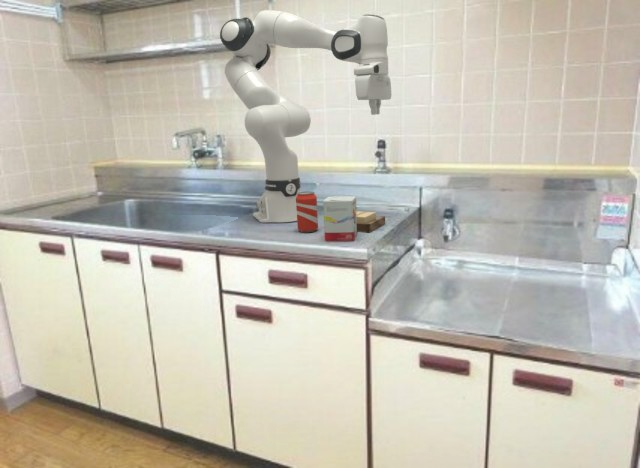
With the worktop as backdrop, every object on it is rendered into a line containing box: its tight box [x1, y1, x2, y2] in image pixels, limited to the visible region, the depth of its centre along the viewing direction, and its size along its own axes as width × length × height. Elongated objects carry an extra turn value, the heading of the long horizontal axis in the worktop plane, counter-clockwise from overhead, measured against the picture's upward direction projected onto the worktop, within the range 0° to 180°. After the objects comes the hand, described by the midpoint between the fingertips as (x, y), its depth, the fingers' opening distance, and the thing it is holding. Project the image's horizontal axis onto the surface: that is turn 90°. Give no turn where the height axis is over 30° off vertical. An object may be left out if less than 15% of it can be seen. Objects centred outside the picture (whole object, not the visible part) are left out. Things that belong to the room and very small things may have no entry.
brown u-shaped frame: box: [357, 215, 386, 234], centre depth 156 cm, size 12×12×2 cm
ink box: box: [322, 195, 358, 242], centre depth 143 cm, size 9×9×12 cm
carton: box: [356, 210, 377, 223], centre depth 156 cm, size 8×8×5 cm
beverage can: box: [296, 190, 319, 233], centre depth 154 cm, size 6×6×12 cm
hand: (375, 114), depth 161 cm, fingers closed
